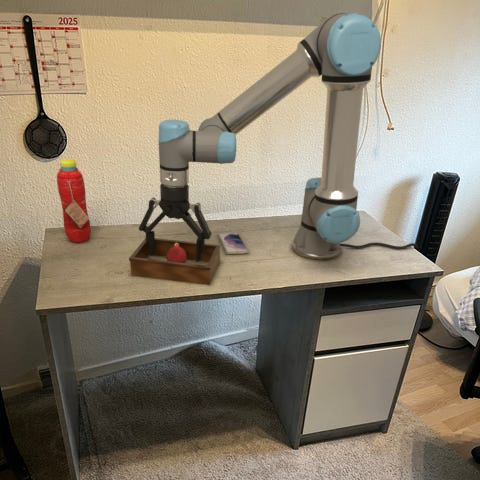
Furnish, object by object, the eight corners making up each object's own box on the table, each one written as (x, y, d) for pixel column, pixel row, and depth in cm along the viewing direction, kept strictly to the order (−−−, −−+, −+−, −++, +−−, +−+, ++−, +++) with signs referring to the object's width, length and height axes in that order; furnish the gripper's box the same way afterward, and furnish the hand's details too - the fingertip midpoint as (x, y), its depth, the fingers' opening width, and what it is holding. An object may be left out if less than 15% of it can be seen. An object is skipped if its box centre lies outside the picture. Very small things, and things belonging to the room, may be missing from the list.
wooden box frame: (220, 261, 143) (220, 245, 140) (210, 285, 131) (210, 267, 127) (147, 253, 145) (145, 236, 142) (130, 275, 133) (128, 258, 130)
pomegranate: (183, 274, 135) (182, 248, 131) (164, 271, 136) (163, 246, 131) (189, 265, 140) (189, 240, 135) (170, 262, 141) (169, 238, 136)
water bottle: (92, 248, 146) (81, 167, 132) (65, 250, 144) (51, 167, 130) (92, 233, 156) (82, 155, 142) (67, 234, 154) (54, 156, 140)
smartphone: (237, 232, 160) (248, 251, 148) (237, 234, 160) (248, 253, 148) (217, 233, 158) (226, 252, 146) (217, 235, 159) (226, 254, 147)
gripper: (123, 182, 122) (129, 256, 134) (218, 193, 120) (215, 268, 131) (133, 174, 128) (138, 246, 140) (223, 184, 126) (220, 256, 138)
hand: (175, 256), depth 136 cm, fingers open, 13 cm apart
